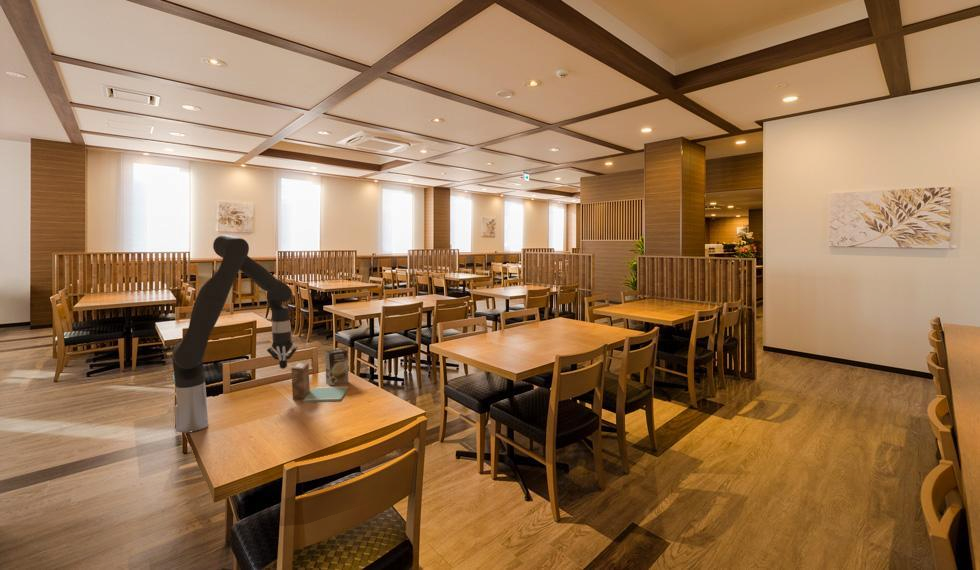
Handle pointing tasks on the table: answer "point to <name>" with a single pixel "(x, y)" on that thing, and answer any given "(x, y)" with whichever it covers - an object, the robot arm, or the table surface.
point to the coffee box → (336, 366)
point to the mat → (325, 394)
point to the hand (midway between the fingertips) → (283, 368)
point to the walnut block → (300, 380)
